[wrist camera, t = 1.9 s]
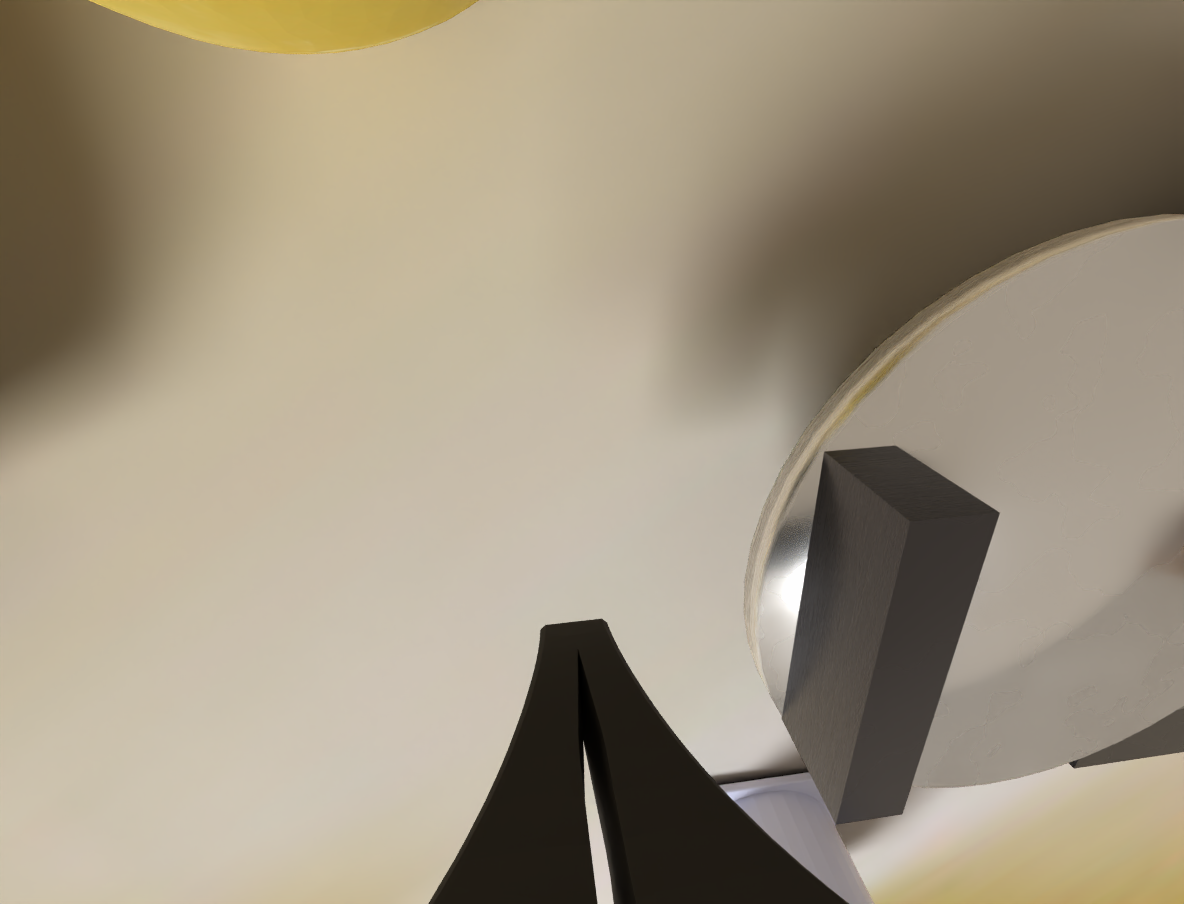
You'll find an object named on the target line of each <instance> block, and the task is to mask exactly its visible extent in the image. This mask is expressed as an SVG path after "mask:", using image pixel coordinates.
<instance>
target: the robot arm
mask: <svg viewBox="0 0 1184 904" xmlns="http://www.w3.org/2000/svg"><path fill="white" fill-rule="evenodd" d="M583 741H584V746H585V751H586V755H587V760H588V765H589V770H590V775H591V780H592V785H593V790H594V794H595V799H596V804H597V809H598V814H599V819H600V824H601V828H602V833H603V838H604V843H605V848H606V853H607V859H608V865H609V871H610V877H611V884H612V892H613V900H614V904H874V902H873V900H872V898H871V896H870V894H869V892H868V890H867V888H866V887H865V885H864V883H863V881H862V879H861V877H860V875H859V873H858V871H857V869H856V867H855V865H854V863H853V861H852V859H851V857H850V855H849V853H848V851H847V849H846V847H845V845H844V843H843V841H842V839H841V837H840V835H839V833H838V831H837V829H836V827H835V826H836V824H835V822H834V820H833V818H832V816H831V814H830V812H829V810H828V808H827V806H826V805H825V803H824V801H823V799H822V797H821V795H820V793H819V791H818V789H817V787H816V785H815V783H814V781H813V779H812V777H811V775H810V773H809V772H807V773H800V774H793V775H786V776H779V777H772V778H765V779H758V780H751V781H745V782H738V783H731V784H724V785H718V784H717V783H716V782H715V780H714V779H713V778H712V777H711V776H710V775H709V774H708V773H707V772H706V771H705V769H704V768H703V767H702V766H701V765H700V764H699V762H698V761H697V760H696V759H695V758H694V757H693V755H692V754H691V753H690V752H689V751H688V750H687V748H686V747H685V746H684V745H683V743H682V742H681V741H680V740H679V738H678V737H677V736H676V734H675V733H674V732H673V731H672V729H671V728H670V727H669V725H668V724H667V723H666V721H665V720H664V719H663V717H662V716H661V715H660V713H659V712H658V710H657V709H656V708H655V706H654V705H653V703H652V702H651V700H650V699H649V697H648V696H647V694H646V693H645V691H644V690H643V688H642V687H641V685H640V684H639V682H638V681H637V679H636V678H635V676H634V674H633V673H632V671H631V669H630V668H629V666H628V664H627V663H626V661H625V659H624V657H623V655H622V654H621V652H620V650H619V648H618V646H617V644H616V642H615V640H614V638H613V636H612V634H611V632H610V629H609V627H608V624H607V622H605V621H604V620H603V619H595V620H586V621H577V622H569V623H560V624H551V625H545V626H544V627H543V628H542V629H541V630H540V643H539V650H538V655H537V660H536V665H535V669H534V673H533V677H532V681H531V684H530V687H529V690H528V694H527V697H526V700H525V704H524V707H523V710H522V713H521V716H520V719H519V721H518V724H517V727H516V730H515V732H514V735H513V738H512V740H511V743H510V746H509V748H508V751H507V753H506V756H505V758H504V761H503V763H502V765H501V768H500V770H499V772H498V775H497V777H496V779H495V781H494V783H493V786H492V788H491V790H490V792H489V794H488V796H487V799H486V801H485V803H484V805H483V807H482V809H481V811H480V813H479V815H478V816H477V818H476V820H475V822H474V824H473V826H472V828H471V830H470V832H469V834H468V836H467V838H466V840H465V842H464V844H463V845H462V847H461V849H460V851H459V853H458V855H457V856H456V858H455V860H454V862H453V863H452V865H451V867H450V868H449V870H448V872H447V873H446V875H445V877H444V878H443V880H442V882H441V884H440V885H439V887H438V889H437V890H436V892H435V894H434V895H433V897H432V899H431V900H430V902H429V904H597V896H596V888H595V880H594V872H593V864H592V856H591V848H590V840H589V832H588V823H587V815H586V807H585V790H584V749H583Z"/></svg>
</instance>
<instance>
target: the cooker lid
mask: <svg viewBox="0 0 1184 904" xmlns="http://www.w3.org/2000/svg"><path fill="white" fill-rule="evenodd" d="M744 618H745V625H746V632H747V639H748V644H749V647H750V650H751V653H752V656H753V659H754V662H755V665H756V668H757V670H758V672H759V674H760V676H761V678H762V680H763V682H764V684H765V686H766V688H767V690H768V692H769V694H770V696H771V698H772V700H773V701H774V703H775V705H776V707H777V709H778V710H779V712H780V714H781V716H782V720H783V722H784V724H785V726H786V728H787V730H788V732H789V734H790V736H791V738H792V740H793V742H794V744H795V746H796V748H797V750H798V752H799V754H800V755H801V757H802V759H803V761H804V763H805V765H806V767H807V769H808V771H809V773H810V775H811V777H812V779H813V781H814V783H815V785H816V787H817V789H818V791H819V793H820V795H821V797H822V799H823V801H824V803H825V805H826V806H827V808H828V810H829V812H830V814H831V816H832V818H833V820H834V822H835V824H843V823H849V822H856V821H862V820H868V819H875V818H881V817H888V816H894V815H901V814H902V813H903V810H904V807H905V804H906V801H907V798H908V795H909V792H910V789H911V787H922V788H953V787H965V786H974V785H983V784H990V783H995V782H1000V781H1005V780H1011V779H1016V778H1020V777H1024V776H1028V775H1031V774H1035V773H1038V772H1042V771H1046V770H1049V769H1052V768H1055V767H1058V766H1061V765H1064V764H1067V763H1069V762H1072V761H1075V760H1078V759H1081V758H1083V757H1086V756H1088V755H1090V754H1093V753H1095V752H1097V751H1100V750H1102V749H1104V748H1107V747H1109V746H1111V745H1113V744H1116V743H1118V742H1120V741H1122V740H1124V739H1126V738H1128V737H1130V736H1132V735H1134V734H1135V733H1137V732H1139V731H1141V730H1143V729H1145V728H1147V727H1149V726H1151V725H1153V724H1154V723H1156V722H1158V721H1159V720H1161V719H1163V718H1164V717H1166V716H1168V715H1169V714H1171V713H1173V712H1174V711H1176V710H1178V709H1179V708H1181V707H1183V706H1184V214H1161V215H1153V216H1145V217H1137V218H1128V219H1120V220H1115V221H1111V222H1107V223H1103V224H1100V225H1096V226H1092V227H1088V228H1084V229H1081V230H1077V231H1073V232H1069V233H1066V234H1063V235H1061V236H1058V237H1056V238H1053V239H1051V240H1048V241H1046V242H1043V243H1041V244H1038V245H1036V246H1033V247H1031V248H1028V249H1026V250H1023V251H1021V252H1018V253H1016V254H1014V255H1012V256H1010V257H1008V258H1006V259H1005V260H1003V261H1001V262H999V263H997V264H995V265H993V266H992V267H990V268H988V269H986V270H984V271H982V272H980V273H978V274H977V275H975V276H973V277H971V278H969V279H967V280H966V281H964V282H963V283H961V284H960V285H958V286H957V287H955V288H954V289H952V290H951V291H949V292H948V293H946V294H945V295H943V296H942V297H941V298H939V299H938V300H936V301H935V302H933V303H932V304H930V305H929V306H927V307H926V308H924V309H923V310H921V311H920V312H919V313H917V314H916V315H915V316H914V317H913V318H911V319H910V320H909V321H908V322H907V323H906V324H904V325H903V326H902V327H901V328H900V329H898V330H897V331H896V332H895V333H894V334H892V335H891V336H890V337H889V338H888V339H887V340H885V341H884V342H883V343H882V344H881V345H879V346H878V347H877V348H876V349H875V350H874V351H873V352H872V353H871V354H870V355H869V356H868V357H867V358H866V359H865V360H864V361H863V362H862V363H861V364H860V365H859V367H858V368H857V369H856V370H855V371H854V372H853V373H852V374H851V375H850V376H849V377H848V378H847V379H846V380H845V381H844V382H843V383H842V384H841V385H840V386H839V387H838V389H837V390H836V391H835V392H834V394H833V395H832V396H831V397H830V399H829V400H828V401H827V403H826V404H825V405H824V406H823V408H822V409H821V410H820V411H819V413H818V414H817V415H816V417H815V418H814V419H813V420H812V422H811V423H810V424H809V425H808V427H807V428H806V430H805V431H804V433H803V435H802V436H801V438H800V439H799V441H798V443H797V444H796V446H795V448H794V449H793V451H792V452H791V454H790V456H789V457H788V459H787V460H786V462H785V464H784V465H783V467H782V469H781V471H780V473H779V475H778V477H777V479H776V481H775V483H774V486H773V488H772V490H771V492H770V494H769V496H768V498H767V500H766V503H765V505H764V507H763V510H762V513H761V516H760V519H759V522H758V525H757V528H756V531H755V534H754V537H753V540H752V543H751V548H750V553H749V559H748V565H747V570H746V576H745V587H744Z"/></svg>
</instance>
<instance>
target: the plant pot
mask: <svg viewBox="0 0 1184 904" xmlns="http://www.w3.org/2000/svg"><path fill="white" fill-rule="evenodd" d="M89 1H91V2H94V3H96V4H98V5H101V6H103V7H106V8H108V9H110V10H113V11H115V12H118V13H120V14H123V15H125V16H128V17H131V18H133V19H136V20H138V21H141V22H143V23H146V24H149V25H151V26H154V27H157V28H160V29H163V30H166V31H170V32H173V33H176V34H179V35H182V36H185V37H188V38H191V39H195V40H199V41H203V42H207V43H212V44H216V45H220V46H224V47H231V48H238V49H245V50H252V51H258V52H268V53H283V54H320V53H338V52H345V51H352V50H359V49H364V48H368V47H373V46H378V45H382V44H387V43H390V42H393V41H397V40H399V39H402V38H405V37H408V36H411V35H414V34H417V33H420V32H422V31H424V30H427V29H429V28H431V27H433V26H436V25H438V24H440V23H442V22H445V21H447V20H449V19H450V18H452V17H454V16H455V15H457V14H459V13H460V12H462V11H463V10H465V9H467V8H468V7H470V6H471V5H473V4H474V3H475V2H477V1H478V0H89Z"/></svg>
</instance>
